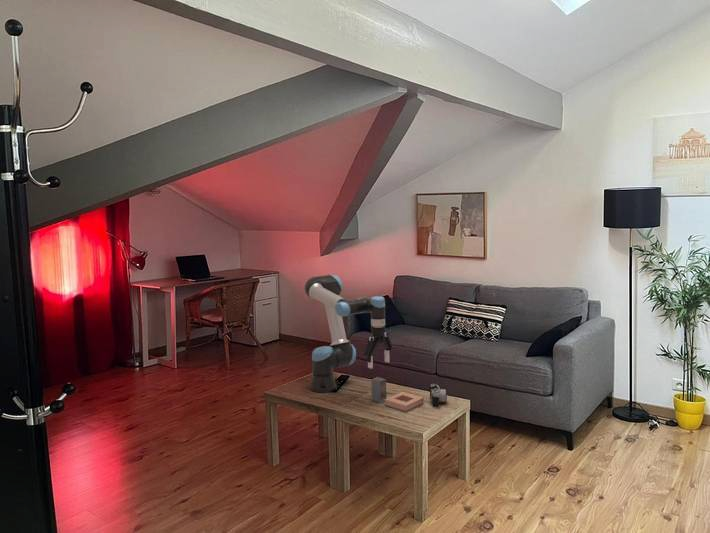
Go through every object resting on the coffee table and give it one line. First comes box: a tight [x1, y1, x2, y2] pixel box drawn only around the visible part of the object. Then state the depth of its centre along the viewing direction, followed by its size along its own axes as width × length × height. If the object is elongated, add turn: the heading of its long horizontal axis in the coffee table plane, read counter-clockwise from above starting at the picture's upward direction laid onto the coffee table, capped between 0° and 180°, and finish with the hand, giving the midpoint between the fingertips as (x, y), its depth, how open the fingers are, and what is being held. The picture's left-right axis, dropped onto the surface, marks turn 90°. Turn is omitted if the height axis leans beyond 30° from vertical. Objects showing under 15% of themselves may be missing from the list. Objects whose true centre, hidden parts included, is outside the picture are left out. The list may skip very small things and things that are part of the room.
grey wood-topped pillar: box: [371, 376, 387, 404], centre depth 311 cm, size 6×5×12 cm
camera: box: [428, 383, 448, 409], centre depth 306 cm, size 16×9×10 cm, turn 177°
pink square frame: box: [384, 391, 424, 413], centre depth 305 cm, size 14×15×4 cm
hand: (378, 365), depth 309 cm, fingers open, 13 cm apart
